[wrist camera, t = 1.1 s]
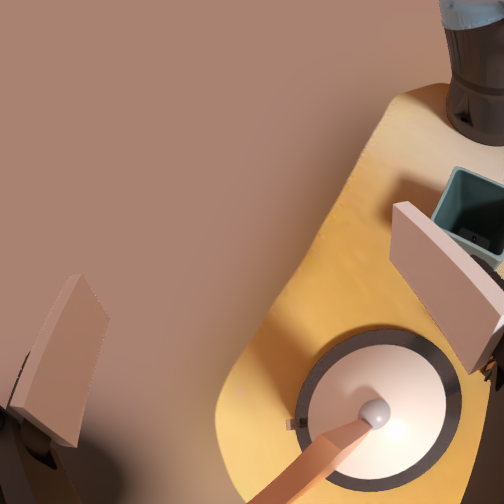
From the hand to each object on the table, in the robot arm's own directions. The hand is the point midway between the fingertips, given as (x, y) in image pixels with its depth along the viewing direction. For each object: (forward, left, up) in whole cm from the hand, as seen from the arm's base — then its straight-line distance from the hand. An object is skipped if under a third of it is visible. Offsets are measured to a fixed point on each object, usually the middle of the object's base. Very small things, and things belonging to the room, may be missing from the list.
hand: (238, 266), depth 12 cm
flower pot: (-11, -15, -26) cm, 33 cm away
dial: (-4, +6, -25) cm, 26 cm away
